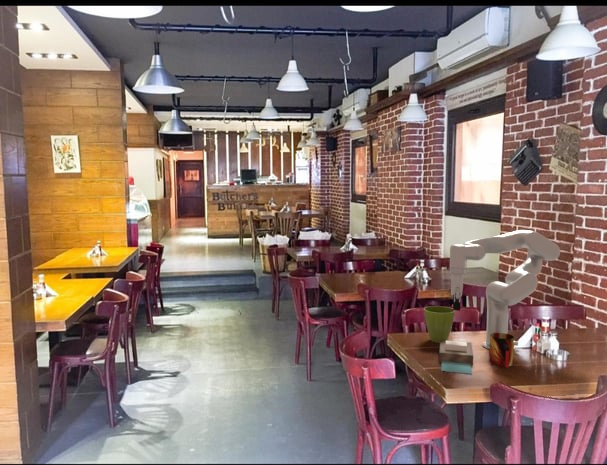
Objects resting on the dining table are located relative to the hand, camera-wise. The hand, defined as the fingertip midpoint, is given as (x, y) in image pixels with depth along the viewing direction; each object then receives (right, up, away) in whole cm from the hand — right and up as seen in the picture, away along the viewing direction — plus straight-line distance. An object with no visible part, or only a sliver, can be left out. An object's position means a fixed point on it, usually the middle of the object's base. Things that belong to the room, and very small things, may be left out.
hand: (456, 309), depth 234 cm
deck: (-3, -20, -8) cm, 22 cm away
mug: (+15, -21, -19) cm, 32 cm away
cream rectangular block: (-3, -16, -10) cm, 19 cm away
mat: (-8, -21, -24) cm, 33 cm away
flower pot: (-4, -18, +15) cm, 24 cm away
